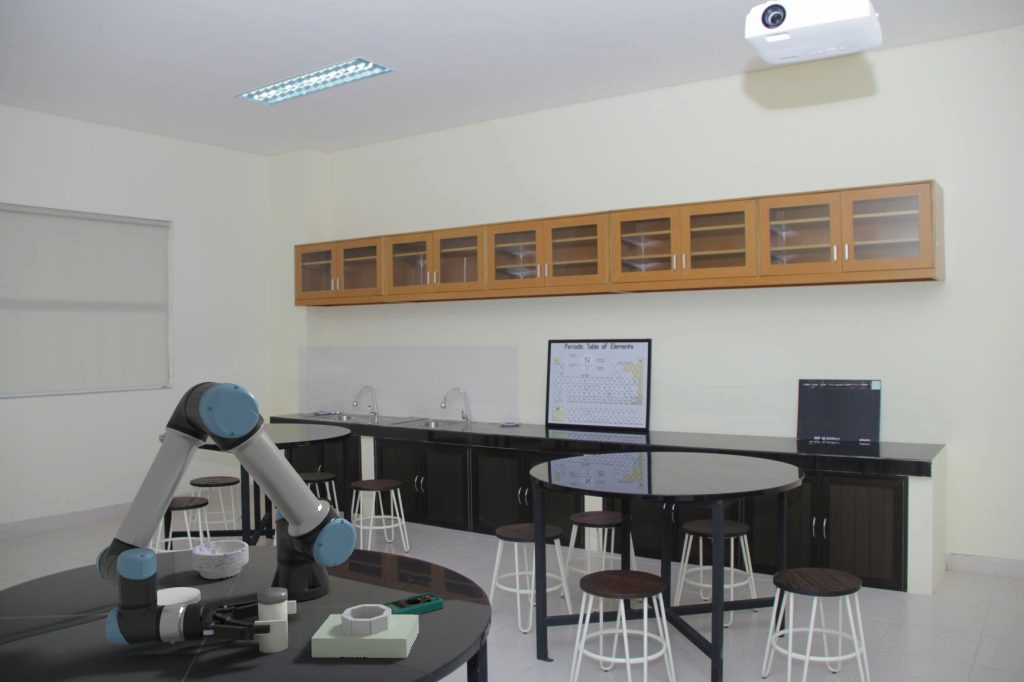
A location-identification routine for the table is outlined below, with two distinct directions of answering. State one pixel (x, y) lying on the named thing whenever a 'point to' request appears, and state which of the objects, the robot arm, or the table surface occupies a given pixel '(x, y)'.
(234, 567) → the paper bowls
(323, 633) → the octagonal ring base plate
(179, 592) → the plastic lid
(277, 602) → the white grey-capped cylinder
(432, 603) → the digital multimeter
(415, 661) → the table surface
